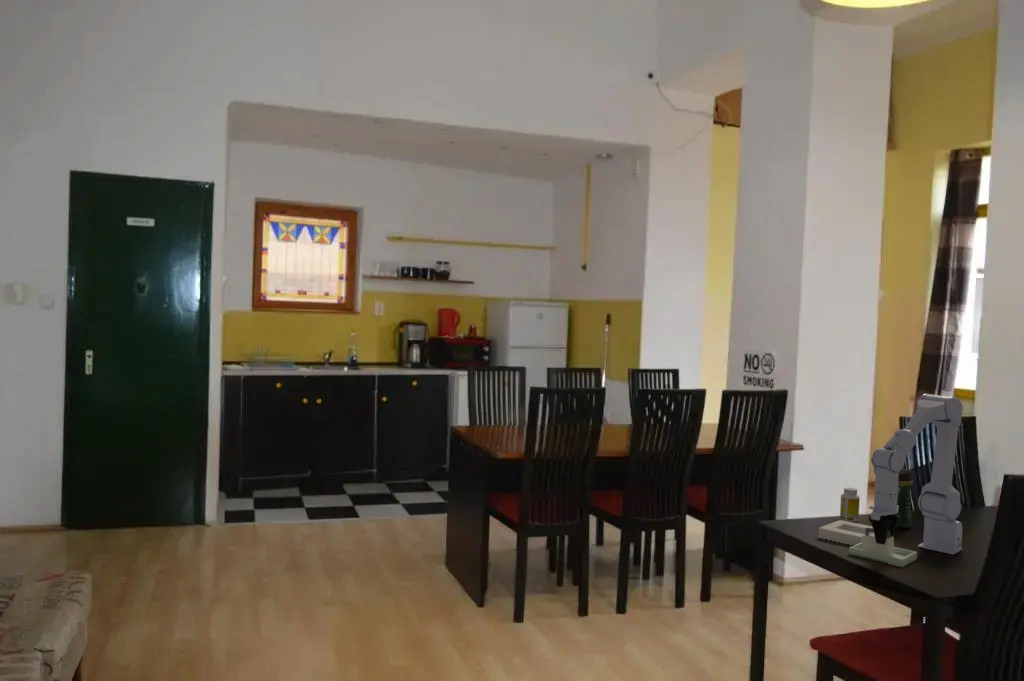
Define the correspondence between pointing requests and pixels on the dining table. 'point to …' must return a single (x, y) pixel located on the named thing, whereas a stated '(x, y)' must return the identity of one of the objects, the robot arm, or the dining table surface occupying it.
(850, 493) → the supplement bottle
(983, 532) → the dining table surface
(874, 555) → the tray
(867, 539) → the block with grey handle
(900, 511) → the coffee jar
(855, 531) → the bay
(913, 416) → the robot arm
